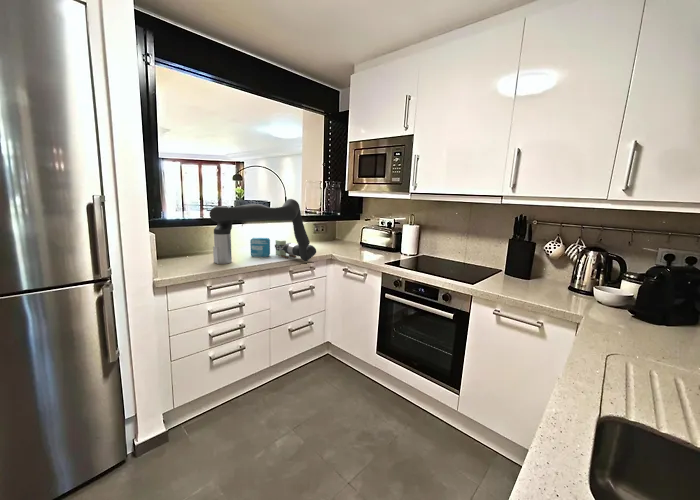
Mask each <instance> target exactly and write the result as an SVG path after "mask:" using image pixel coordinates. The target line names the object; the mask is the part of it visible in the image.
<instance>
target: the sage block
mask: <svg viewBox="0 0 700 500" xmlns="http://www.w3.org/2000/svg"><path fill="white" fill-rule="evenodd" d="M286 244H287V241H286V240H284V239H276V240H275V245H286ZM275 255H276V256H280V257H281V255H283V256H287V253H286V252H285V251H283V250H279V251H278V250H276V249H275Z"/></svg>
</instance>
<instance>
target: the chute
mask: <svg viewBox="0 0 700 500" xmlns="http://www.w3.org/2000/svg"><path fill="white" fill-rule="evenodd" d="M288 256H289V257H292V258H297V256H295V255H290V254H288ZM288 256H287V255H281V256H280V257H281V258H283V259H286V258H287V259H288V258H289V257H288Z"/></svg>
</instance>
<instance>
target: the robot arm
mask: <svg viewBox="0 0 700 500" xmlns="http://www.w3.org/2000/svg"><path fill="white" fill-rule="evenodd" d="M209 217H210V219H211V220H212V222H215V223H217V224H216V226H215V228H213V243H214V244H213V245H214V246H212V252H213V254H212V256H213V263H215V264H217V265H224V264H230V263H232V262H233V261H232V258H233V257H232V233H231V231H232V228H233V221H244V222H245V221H248V222H249V221H250V222H251V221H252V222H253V221H254V222H255V221H272V220H274V221H275V220H277V221H291V223H292V229H293V234H294V238H295V240H296V243H293V242H286V245H276V244H274V248H275V251H276V250H278V251H279V250H283V251H285V252H286V255H289V254H290V255H295V256H296V257H299V258H300V259H301V260H302V261H303V262H308V261H309V260H310V259H312V258H313V257H314V256H316V253H317V249H316V247H315V246H313V245H311V244H310V239H309V236H308V234H307V231H306V228H305V224H304V221H303V217H302V213H301V208H300V204H299V202H298V201H297V200H296V199H294V198H288V199H287V200H285V201H284V203H283V205H282V206H279V207H270V206H266V205H265V204H261V203H251V204H243V205H237V206H230V207H229V206H226V205H216V206H214V207H212V208H211V210H210V211H209Z"/></svg>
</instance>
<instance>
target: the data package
mask: <svg viewBox="0 0 700 500" xmlns="http://www.w3.org/2000/svg"><path fill="white" fill-rule="evenodd" d="M249 241H250V242H249V243H250V256H251V257H254V258H256V257H259V258H266V257H267V258H268V257H270V254H271V240H270V238H268V237H252V238H251V239H249Z"/></svg>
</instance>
